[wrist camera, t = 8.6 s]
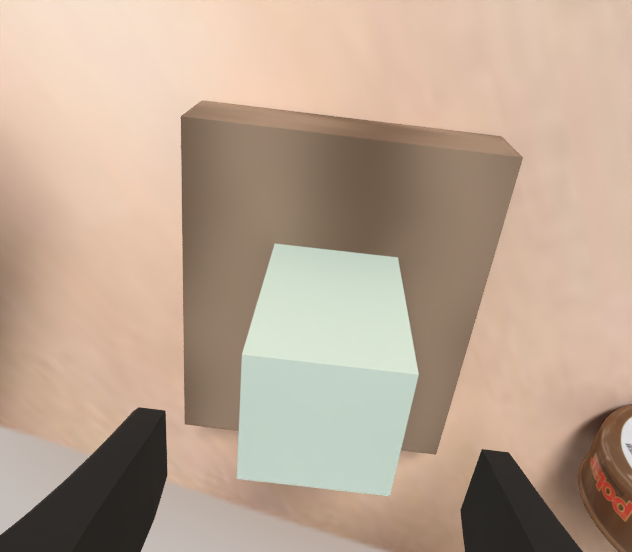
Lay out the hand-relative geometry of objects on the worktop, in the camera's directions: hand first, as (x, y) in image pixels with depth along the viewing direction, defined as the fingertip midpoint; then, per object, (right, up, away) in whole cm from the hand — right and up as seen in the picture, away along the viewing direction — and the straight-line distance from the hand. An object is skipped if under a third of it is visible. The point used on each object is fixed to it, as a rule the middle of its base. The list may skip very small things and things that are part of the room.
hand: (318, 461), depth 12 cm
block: (0, +3, +6) cm, 7 cm away
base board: (+1, +4, +8) cm, 9 cm away
